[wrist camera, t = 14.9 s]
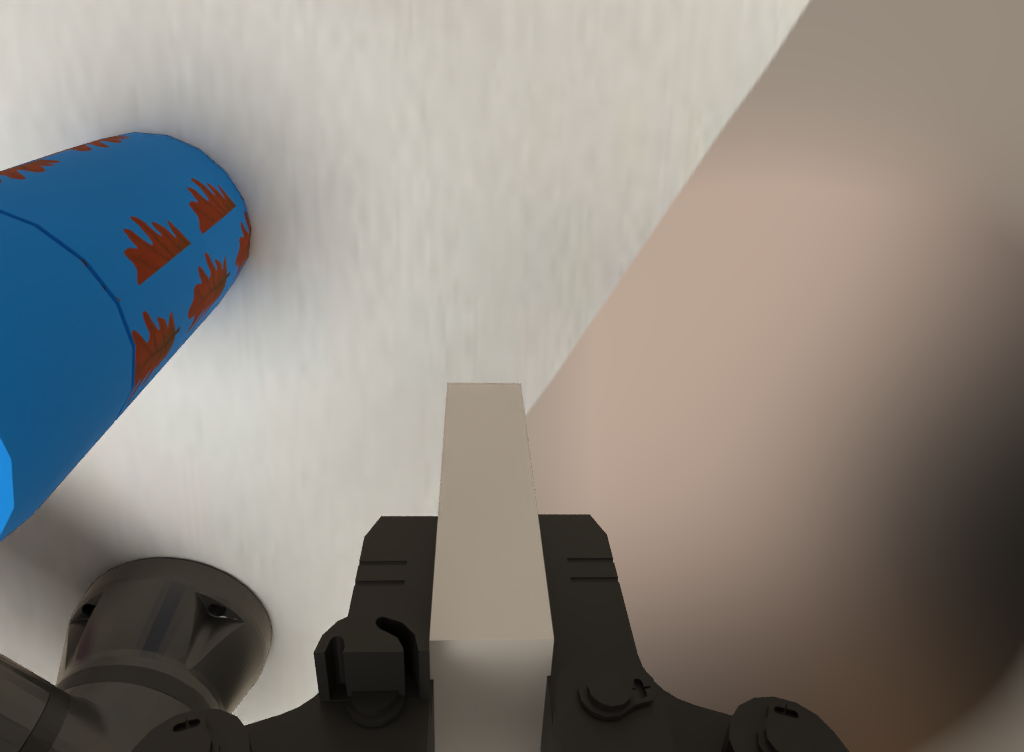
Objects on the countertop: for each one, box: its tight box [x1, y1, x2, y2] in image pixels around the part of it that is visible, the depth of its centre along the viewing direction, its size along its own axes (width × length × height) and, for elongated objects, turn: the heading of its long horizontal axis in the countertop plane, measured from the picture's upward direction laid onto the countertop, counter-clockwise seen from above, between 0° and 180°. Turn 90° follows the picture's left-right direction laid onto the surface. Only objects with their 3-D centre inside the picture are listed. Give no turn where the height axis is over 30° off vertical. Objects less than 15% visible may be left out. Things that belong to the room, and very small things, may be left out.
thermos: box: [0, 132, 251, 542], centre depth 31 cm, size 11×11×25 cm
